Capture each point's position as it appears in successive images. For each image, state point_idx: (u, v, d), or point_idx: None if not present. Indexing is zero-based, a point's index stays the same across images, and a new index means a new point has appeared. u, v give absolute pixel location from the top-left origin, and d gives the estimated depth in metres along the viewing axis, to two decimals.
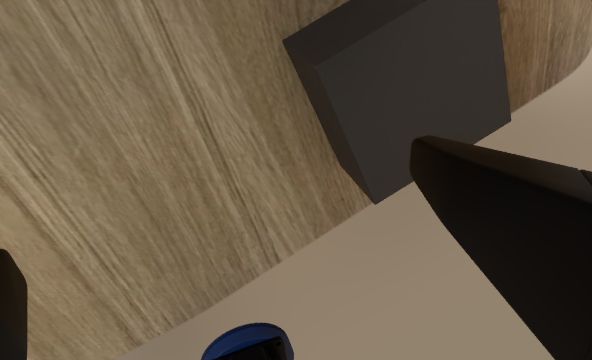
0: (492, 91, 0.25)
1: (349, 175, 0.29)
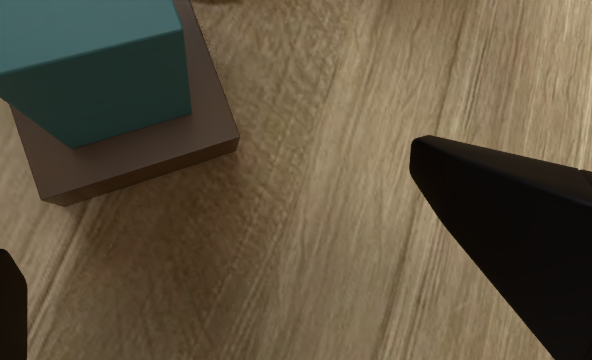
0: None
1: None
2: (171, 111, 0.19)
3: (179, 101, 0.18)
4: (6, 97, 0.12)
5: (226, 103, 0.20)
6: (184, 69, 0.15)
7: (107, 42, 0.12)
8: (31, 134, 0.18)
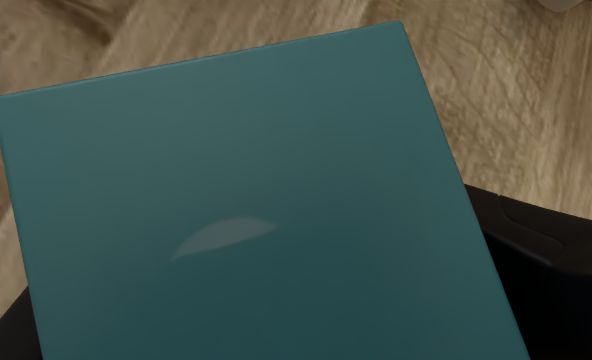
0: None
1: None
2: None
3: None
4: None
5: None
6: None
7: None
8: None
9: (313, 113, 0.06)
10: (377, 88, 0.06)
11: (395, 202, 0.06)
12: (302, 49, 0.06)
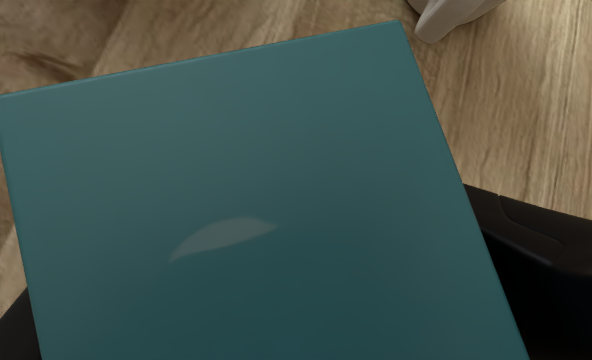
0: None
1: None
2: None
3: None
4: None
5: None
6: None
7: None
8: None
9: (312, 112, 0.06)
10: (376, 87, 0.06)
11: (394, 202, 0.06)
12: (301, 49, 0.06)
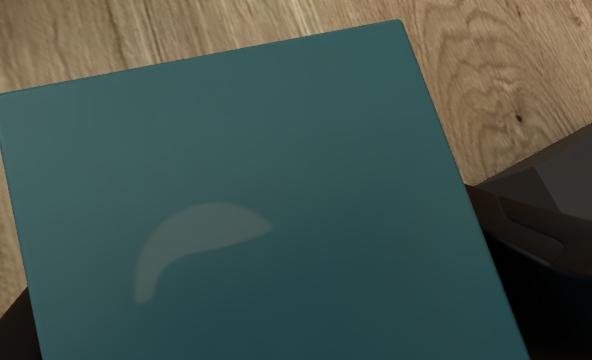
0: None
1: None
2: None
3: None
4: None
5: None
6: None
7: None
8: None
9: (313, 111, 0.06)
10: (377, 86, 0.06)
11: (394, 201, 0.06)
12: (302, 47, 0.06)
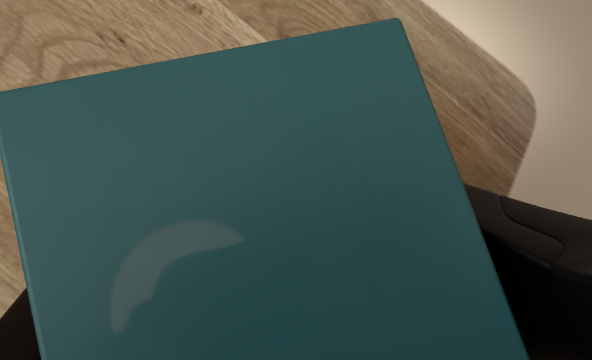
0: None
1: None
2: None
3: None
4: None
5: None
6: None
7: None
8: None
9: (311, 110, 0.06)
10: (375, 85, 0.06)
11: (393, 200, 0.06)
12: (301, 46, 0.06)
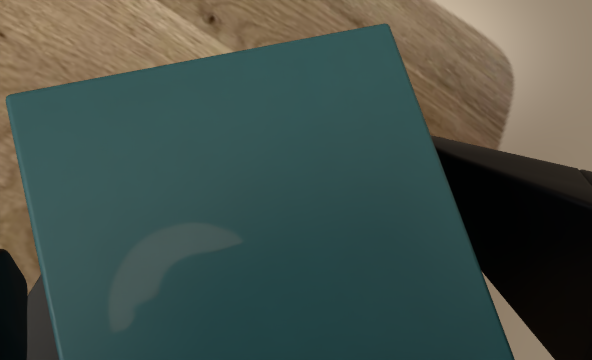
0: None
1: None
2: None
3: None
4: None
5: None
6: None
7: None
8: None
9: (305, 110, 0.06)
10: (365, 87, 0.06)
11: (381, 194, 0.06)
12: (295, 50, 0.06)
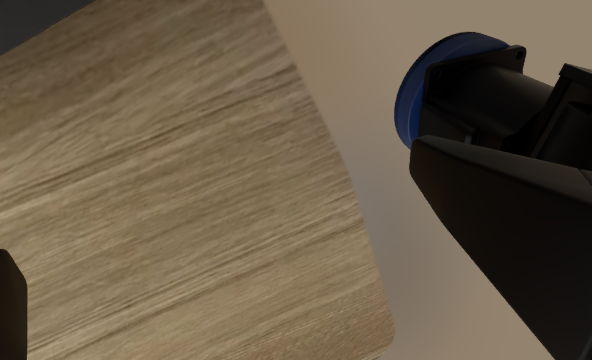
0: None
1: None
2: None
3: None
4: None
5: None
6: None
7: None
8: None
9: None
10: None
11: None
12: None
